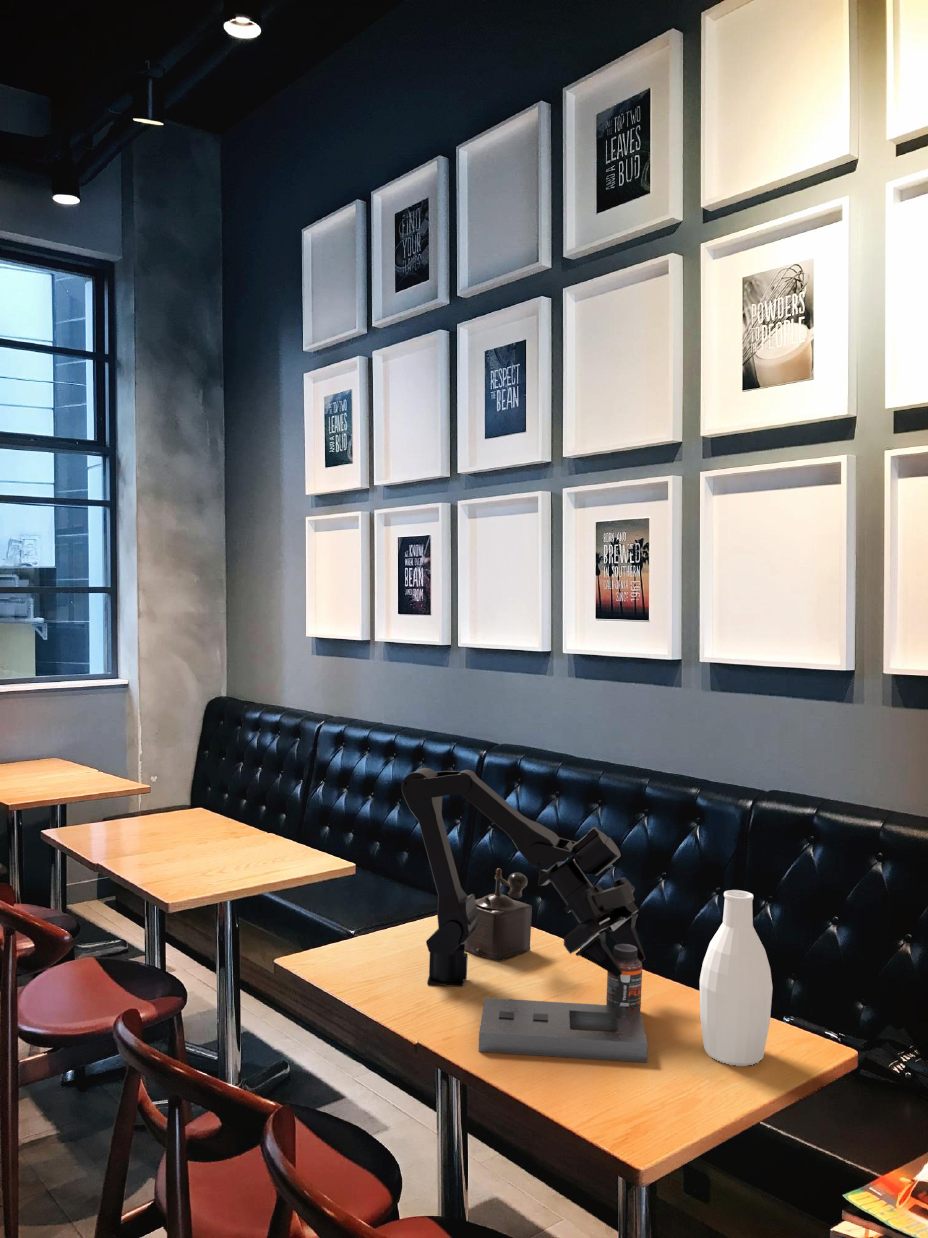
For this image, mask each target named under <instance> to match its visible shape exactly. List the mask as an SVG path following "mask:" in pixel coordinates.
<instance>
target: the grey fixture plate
mask: <svg viewBox="0 0 928 1238" xmlns="http://www.w3.org/2000/svg"><path fill="white" fill-rule="evenodd" d="M479 1025H480V1026H479V1031H478V1052H480V1053H495V1054H497V1053H498V1054H509V1055H525V1056H539V1057H540V1056H543V1057H556V1058H558V1057H559V1058H569V1059H570V1058H572V1059H573V1058H574V1059H585V1060H586V1059H587V1060H588V1059H590V1060H599V1061H600V1060H603V1061H616V1062H617V1061H619V1062H630V1063H631V1062H632V1063H634V1062H635V1063H648V1040H647V1035H646V1034H647V1033H646V1031H645V1026H644V1021H643V1017H642V1013H641V1008H639V1007H630V1006H613V1005H606V1004H596V1003H595V1004H594V1003H578V1002H577V1003H576V1002H561V1001H547V1000H545V1001H543V1000H528V999H511V998H496V997H484V1002H483V1008H482V1012H481V1019H480V1024H479Z"/></svg>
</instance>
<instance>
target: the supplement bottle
mask: <svg viewBox="0 0 928 1238" xmlns="http://www.w3.org/2000/svg"><path fill="white" fill-rule="evenodd" d="M613 957H614V959H615V960H616V962H617V964H618V965H619V967H620V969H621V971H622V974H621V975H620V976H618V977H617V976H615V975H613V974H612V973H610V972H608V971H607V970H606V971H607V972H606V974H607V977H606V978H607V979H606V1001H605V1002H606V1004H605V1005H613V1006H630V1007H639V1008H640V1009H641V1008H642V986H643V985H642V984H643V982H642V981H643V964H642V962H641V961H640V960H639V959H638V958H637V948H636V947H635V946H633V945H629V944H619V943H617V944H615V945H614V946H613Z"/></svg>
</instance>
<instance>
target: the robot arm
mask: <svg viewBox="0 0 928 1238" xmlns="http://www.w3.org/2000/svg"><path fill="white" fill-rule="evenodd" d="M400 788H401V794H402V797H403V798H404V800H405V803H406V805H407V807H408V809H409V810H410V812H411V813H412V814H413V816H414V817H415V819H416V820H417V821H418V825H419V829H420V832H421V835H422V839H423V843H424V847H425V850H426V851H425V852H426V855H427V859H428V861H429V866H430V870H431V874H432V877H433V882H434V885H435V889H436V892H437V893H436V894H437V913H436V914H437V916H436V917H437V927H438V928H437V929H436V930H435V931H434V933H432V935H430V936H429V937H428V939H427V940H426V941H425V944H426V947H427V949H428V950H427V951H428V952H429V966H428V969H429V970H428V977H427V985H432V986H433V985H435V986H449V987H450V986H451V987H463V985H464V981H465V980H466V979H467V976H468V959H469V958H468V956H469V954H468V953H467V952H466V951H465V944H462V943H463V942H464V941H465V940H466V939H467V938H468V937H469V936H470V935H471V933H472V932H473V931H474V930H475V928H476V926H477V923H478V918H477V917H478V916H479V915H480V913H479V911H478V910H477V907H476V904H475V900H476V896H475V893H471V894H469V895H467V893H466V892H465V891H464V889H463V888H462V886H461V882H460V878H459V875H458V871H457V868H456V864H455V859H454V856H453V852H452V848H451V844H450V841H449V837H448V833H447V830H446V827H445V823H444V819H443V813H442V810H443V797H444V796H452V795H461V796H462V797H464V798H465V799H466V800H467V802H469V803H471V805H473V807H475V808H476V809H477V810H479V811H480V812H481V813H482V814H483V815H484V816H486V817H487V818H488V819H489V820H490V821H491V822H492V823H494V824H495V825H496V826H497V827H498V828H499V829H501V830H502V831H503V832H504V833H506V835H507V836H508V837H509V838H510V839H511V841H512V842H513V845H515V848H516V849H517V851H518V852H519V853H520V855H522V857H523V858H524V859H525V861H526V862H527V863H528V864H530V865H531V866H532V867H533V868H536V869H540V870H539V871H538V873H539V878H538V881H537V885H538V886H539V887H540V886H541V887H542V886H547V885H548V884H549V883H551V885H552V886H553V887H554V889H555V891H557V893H558V895H559V896H560V897H561V899H562V900H563V902H564V903H565V904H566V906H565V907H563V910H564V911H565V913H566V914H569V913H570V912H571V913H572V914H573V916H574V917H575V918H576V920H577V921H578V923H579V924H577V926H576V927H575V928H573V929H572V930H571V931H569V933H568V934H566V935H564V937H563V947H564V948H565V949H566V951H567V953H569V954H570V955H572V954H574V953H575V956H577V957H578V956H579V957H581V958H583V959H586V960H588V961H589V962H591V963H593V964H594V965H596V966H598V967H600V968H602V969H603V970H605V971H608V972H610V973H612V974H613V975H615V976H617V977H618V976H620V975H621V974H622V971H621V969H620V967H619V965H618V964H617V962H616V960H615V959H614V957H613V956H614V954H612V952H611V950H610V949H609V947H608V946H607V943H606V931H608V932H610V934H609V935H608V936H609V937H610V938H612V939H613V940H614V941H615V942H616V943H617V944H629V945H633V946H635V947H636V948H637V958H638V959H639V960H640V961H641V963H642V962H643V961H644V960H646V956H645V952H644V950H643V947H642V944H641V941H640V940H639V937H638V933H637V931H636V930H637V929H636V921H637V918H639V917H638V913H637V912H638V911H640V910H639V907H637V905H636V904H635V900H636V899H635V897H634V892H635V890H636V888H635V887H636V886H634V885H632V883H631V882H630V881H629V880H628V879H627V878H626V877H622V878H621V877H620V878H618V879H616V880H614V882H613V886H612V887H610V888H607V889H603V887H601V885H598V884H596V885H593V884H592V883H591V882H590V880H589V879H588V878H587V876H586V875H588V876H591V875H594V876H596V877H597V876H598V875H600V874H601V873H602V872H603V871H604V870H605V869H607V868H608V867H610V866H611V865H612V864H614V862H615V861H616V860H618V859H619V858H620V857H621V852H620V850H619V848H618V846H617V844H616V843H615V842H614V841H613V839H612V838H611V837H610V836H607V835H606V834H605V833H604V832H602V831H600V830H599V828H598V827H597V826H593V827H592V828H591V829H589V831H588V832H587V834H585V835H584V836H583V837H582V838H580V840H578V841H574V840H570V839H566V838H563V837H560V836H558V834H557V833H555V832H554V831H552V830H551V829H549V828H547V827H546V826H544V825H542V824H541V823H539V822H536V821H534V820H531V819H530V818H528V817H526V816H524V814H521V813H520V811H518V810H517V809H515V807H513V806H512V805H511V804H510V803H509V802H507V801H506V800H505V799H504V798H503V797H502V796H501V795H499V794H498V793H497V791H495V790H493V789H492V788H491V787H490V786H489V785H487V784H486V783H485V782H484V781H483V780H482V779H480V777H478V776H477V773H475V771H473V770H470V769H464V770H457V771H456V770H455V771H454V770H443V771H436V770H434V769H432V768H429V767H423V768H422V767H421V768H419V769H417V770H416V771H413V772H411V773H409V774H407V776H405V777H404V779H403V781H402V783H401V787H400ZM552 863H555V864H553V865H552V866H551V867H550V868H549V869H545V868H547V867H549V866H550V865H551V864H552ZM541 868H543V869H541ZM604 930H605V931H604ZM602 931H603V932H602Z"/></svg>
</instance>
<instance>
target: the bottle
mask: <svg viewBox="0 0 928 1238" xmlns="http://www.w3.org/2000/svg"><path fill="white" fill-rule="evenodd" d="M723 897H724V904H723V915H722V923H721V924H720V926H719V927H718V930H717V931H716V933H715V934H714V936H713V937H712V939H711V940H710V942H709V944H708V947H707V950H706V953H705V956H704V958H703V961H702V967H701V971H700V976H699V1017H700V1019H699V1020H700V1024H701V1025H700V1026H701V1033H702V1043H703V1047H704V1051H705V1053H706V1054H707V1055H708V1056H709V1058H711V1059H712V1058H713V1059H712V1060H714V1059H715V1060H714V1061H716V1060H717V1061H716V1062H718V1061H720V1062H719V1063H721V1062H722V1063H721V1064H724V1063H726V1064H725V1065H727V1064H729V1065H728V1066H733V1065H736V1066H735V1067H749V1066H748V1065H752V1066H754V1065H753V1064H755V1063H757V1064H759V1063H760V1062H761V1061H760V1060H763V1058H764V1056H765V1055H764V1054H765V1049H766V1045H767V1041H768V1040H767V1038H768V1033H769V1029H770V1023H771V1012H772V1011H771V1010H772V999H773V982H772V972H771V971H772V970H771V966H770V963H769V959H768V955H767V952H766V949H765V947H764V945H763V944H762V943H763V942H762V941H761V940H760V937H759V935H758V933H757V932H756V929H755V928H754V922H753V919H754V916H753V900H754V894H753V893H751V892H749V891H745V890H741V889H740V890H739V889H731V890H729V889H728V890H725V891H724V892H723ZM759 1061H760V1062H759ZM755 1065H756V1064H755Z"/></svg>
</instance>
